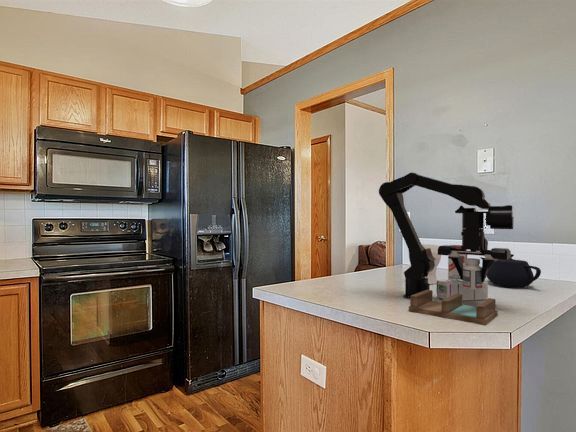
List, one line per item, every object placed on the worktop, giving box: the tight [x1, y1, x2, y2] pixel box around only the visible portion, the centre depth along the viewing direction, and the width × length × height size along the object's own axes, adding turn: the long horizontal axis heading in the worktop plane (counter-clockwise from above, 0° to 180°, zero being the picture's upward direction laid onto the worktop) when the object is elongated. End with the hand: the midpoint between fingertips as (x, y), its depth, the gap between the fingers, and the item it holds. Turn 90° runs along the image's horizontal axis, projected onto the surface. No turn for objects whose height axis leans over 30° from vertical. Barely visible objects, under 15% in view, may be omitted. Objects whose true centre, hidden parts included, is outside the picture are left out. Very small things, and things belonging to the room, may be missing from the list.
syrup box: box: [435, 279, 489, 302], centre depth 114 cm, size 6×6×14 cm
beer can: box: [447, 244, 468, 280], centre depth 128 cm, size 6×6×16 cm
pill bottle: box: [463, 257, 483, 290], centre depth 107 cm, size 5×5×9 cm
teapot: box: [479, 253, 542, 289], centre depth 140 cm, size 25×16×12 cm, turn 21°
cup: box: [421, 243, 442, 285], centre depth 144 cm, size 11×11×15 cm
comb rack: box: [408, 289, 498, 326], centre depth 96 cm, size 19×12×4 cm, turn 48°
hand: (472, 281), depth 107 cm, fingers closed on pill bottle, 5 cm apart
